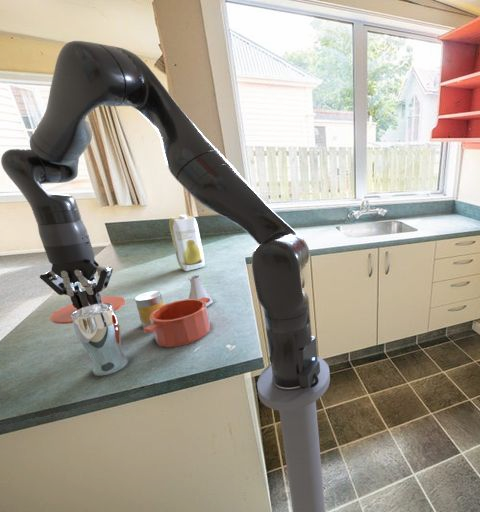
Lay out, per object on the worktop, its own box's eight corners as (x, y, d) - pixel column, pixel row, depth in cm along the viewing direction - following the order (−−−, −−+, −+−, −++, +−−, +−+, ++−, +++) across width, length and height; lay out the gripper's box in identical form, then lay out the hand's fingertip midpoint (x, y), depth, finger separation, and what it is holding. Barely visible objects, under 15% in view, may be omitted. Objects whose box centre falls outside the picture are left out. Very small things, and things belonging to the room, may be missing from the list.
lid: (139, 303, 79) (133, 282, 77) (77, 330, 66) (68, 305, 64) (101, 297, 82) (95, 276, 80) (36, 321, 69) (26, 298, 68)
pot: (227, 320, 89) (223, 297, 87) (172, 356, 72) (166, 330, 70) (193, 314, 92) (189, 293, 90) (134, 348, 76) (126, 322, 73)
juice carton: (184, 272, 127) (171, 217, 119) (177, 268, 131) (165, 215, 124) (207, 266, 133) (197, 214, 126) (200, 263, 138) (190, 212, 131)
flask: (201, 298, 103) (196, 271, 100) (217, 301, 101) (212, 274, 98) (182, 307, 96) (175, 279, 93) (198, 311, 94) (192, 282, 91)
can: (173, 319, 89) (166, 292, 87) (153, 330, 84) (145, 301, 81) (157, 316, 91) (150, 290, 88) (137, 327, 85) (129, 298, 83)
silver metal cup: (103, 359, 71) (84, 304, 67) (136, 355, 73) (120, 301, 68) (82, 379, 65) (60, 319, 60) (119, 374, 66) (100, 315, 62)
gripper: (13, 247, 63) (42, 318, 68) (92, 243, 67) (113, 311, 72) (42, 238, 70) (66, 304, 75) (112, 235, 73) (130, 298, 79)
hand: (89, 307), depth 74 cm, fingers closed on lid, 2 cm apart
